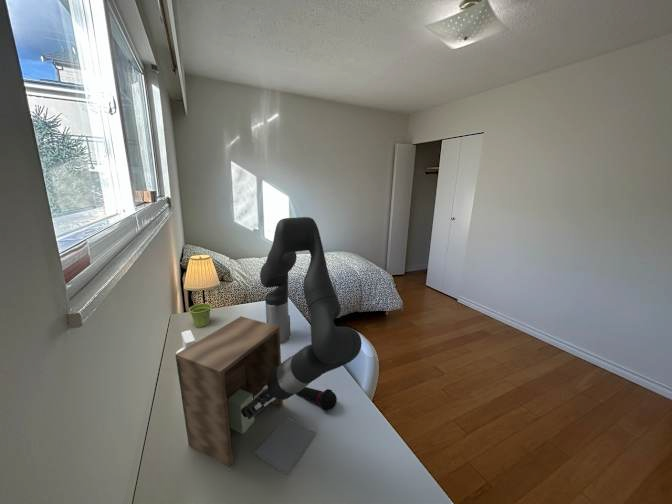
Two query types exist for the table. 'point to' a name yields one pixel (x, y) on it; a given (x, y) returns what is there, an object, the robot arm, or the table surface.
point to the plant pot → (200, 314)
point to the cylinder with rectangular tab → (186, 340)
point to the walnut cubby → (224, 380)
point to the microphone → (320, 397)
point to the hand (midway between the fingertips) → (255, 401)
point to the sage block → (239, 410)
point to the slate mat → (286, 445)
